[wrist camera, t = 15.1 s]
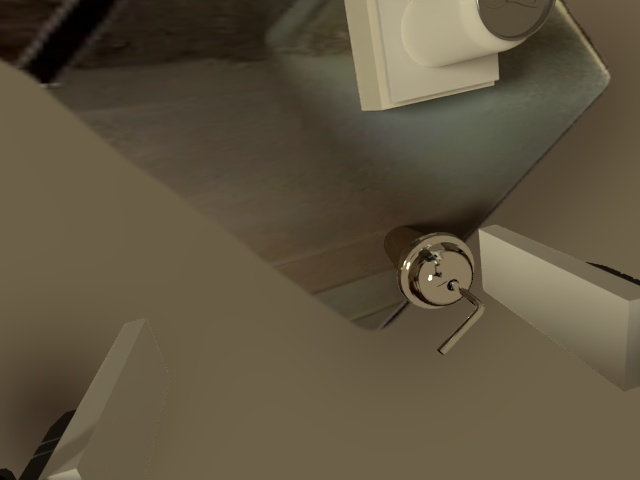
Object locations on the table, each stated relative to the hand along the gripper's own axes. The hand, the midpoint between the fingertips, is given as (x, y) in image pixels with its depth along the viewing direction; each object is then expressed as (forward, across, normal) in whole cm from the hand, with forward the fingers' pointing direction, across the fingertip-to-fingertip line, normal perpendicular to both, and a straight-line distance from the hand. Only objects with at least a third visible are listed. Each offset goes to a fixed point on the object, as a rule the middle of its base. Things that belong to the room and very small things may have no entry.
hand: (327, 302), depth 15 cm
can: (+24, +17, +11) cm, 32 cm away
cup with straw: (+33, +14, -12) cm, 38 cm away
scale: (+33, +18, +11) cm, 39 cm away
